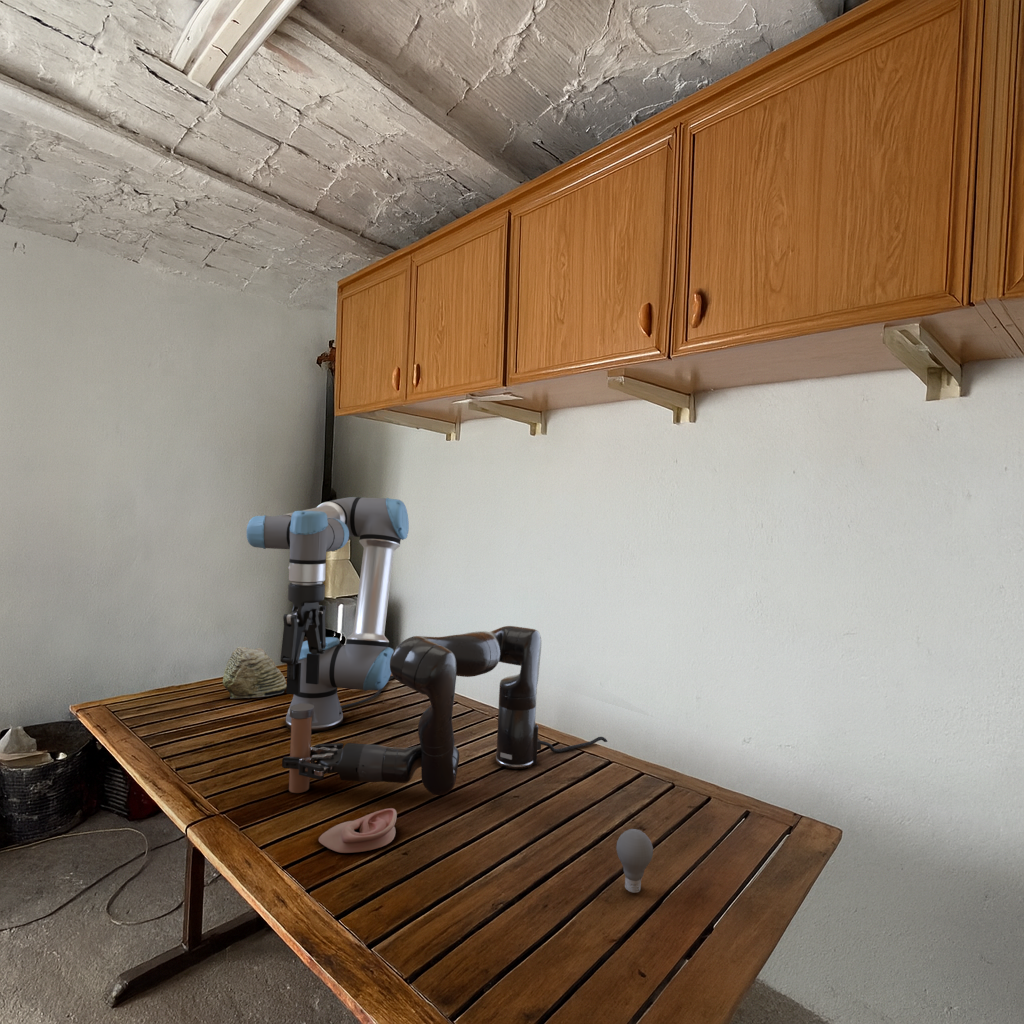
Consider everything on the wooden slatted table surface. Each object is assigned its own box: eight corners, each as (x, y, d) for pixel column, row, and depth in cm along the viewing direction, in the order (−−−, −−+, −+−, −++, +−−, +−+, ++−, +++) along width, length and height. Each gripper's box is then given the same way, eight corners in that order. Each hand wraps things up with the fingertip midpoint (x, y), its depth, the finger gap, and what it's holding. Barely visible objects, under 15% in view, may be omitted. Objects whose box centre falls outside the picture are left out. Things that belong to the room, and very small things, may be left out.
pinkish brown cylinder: (299, 782, 140) (302, 704, 140) (313, 787, 138) (316, 708, 138) (284, 789, 136) (287, 709, 136) (298, 794, 134) (301, 713, 134)
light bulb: (610, 879, 108) (613, 822, 108) (644, 879, 109) (647, 822, 109) (619, 902, 102) (622, 840, 102) (655, 901, 103) (658, 840, 103)
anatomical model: (310, 826, 114) (340, 797, 125) (309, 848, 114) (339, 817, 125) (379, 837, 111) (403, 806, 122) (378, 859, 111) (403, 827, 123)
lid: (302, 709, 140) (302, 701, 140) (318, 713, 138) (319, 706, 138) (284, 715, 136) (284, 707, 136) (301, 720, 133) (301, 712, 133)
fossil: (218, 695, 195) (220, 647, 195) (278, 685, 208) (279, 640, 207) (228, 703, 189) (230, 653, 188) (289, 692, 201) (290, 645, 201)
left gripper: (314, 576, 147) (310, 674, 147) (263, 587, 127) (259, 700, 128) (344, 578, 145) (340, 677, 146) (297, 589, 126) (293, 704, 126)
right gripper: (374, 733, 143) (300, 728, 144) (356, 758, 129) (273, 753, 130) (373, 766, 143) (299, 761, 144) (354, 795, 129) (272, 789, 130)
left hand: (302, 688), depth 137 cm, fingers open, 7 cm apart
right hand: (287, 757), depth 137 cm, fingers closed on pinkish brown cylinder, 4 cm apart
